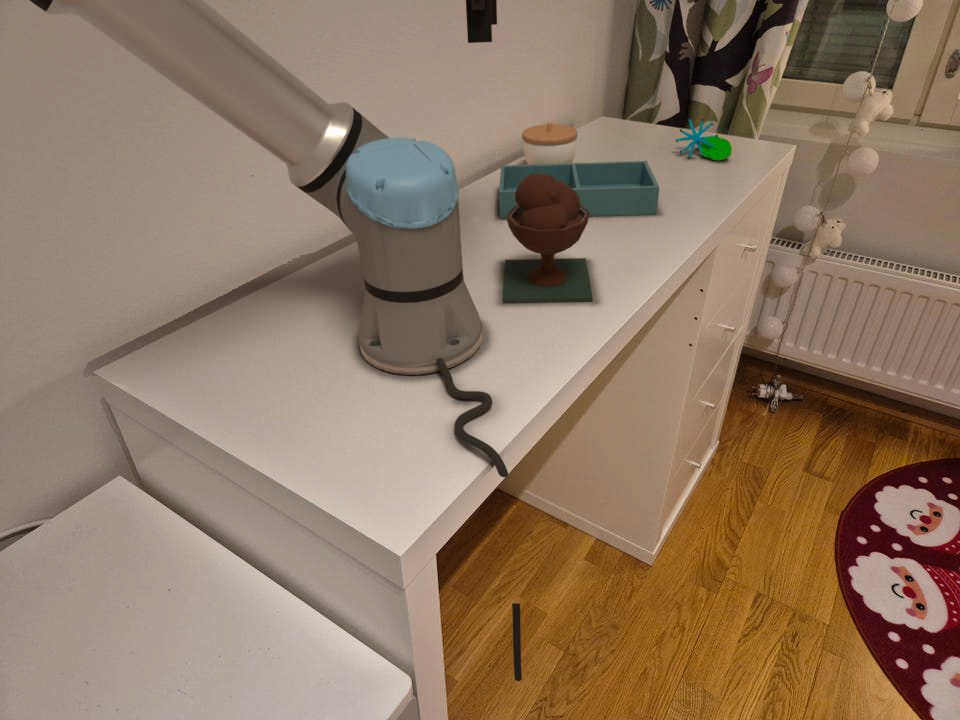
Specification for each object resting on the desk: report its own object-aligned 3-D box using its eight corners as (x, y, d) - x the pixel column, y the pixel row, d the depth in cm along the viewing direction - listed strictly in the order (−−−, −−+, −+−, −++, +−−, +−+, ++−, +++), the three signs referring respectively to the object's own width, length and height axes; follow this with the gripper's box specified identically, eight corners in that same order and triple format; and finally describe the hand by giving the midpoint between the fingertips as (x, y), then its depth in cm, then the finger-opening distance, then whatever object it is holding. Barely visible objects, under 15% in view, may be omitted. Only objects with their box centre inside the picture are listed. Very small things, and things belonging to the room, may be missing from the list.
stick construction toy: (666, 144, 135) (689, 109, 133) (673, 155, 141) (695, 122, 139) (717, 170, 130) (741, 135, 128) (722, 180, 136) (745, 147, 134)
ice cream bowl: (561, 304, 87) (564, 194, 78) (493, 283, 92) (488, 178, 84) (600, 272, 93) (607, 168, 85) (535, 254, 99) (534, 155, 91)
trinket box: (513, 176, 130) (512, 128, 125) (535, 160, 138) (535, 113, 132) (564, 182, 126) (565, 133, 120) (583, 165, 133) (585, 117, 128)
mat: (592, 301, 88) (592, 297, 88) (503, 303, 89) (503, 299, 88) (585, 261, 98) (585, 257, 97) (505, 263, 99) (504, 259, 98)
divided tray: (656, 214, 111) (659, 186, 108) (499, 218, 113) (499, 191, 110) (644, 186, 122) (646, 160, 119) (501, 190, 124) (501, 165, 121)
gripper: (508, -215, 57) (511, 49, 69) (514, -183, 78) (516, 17, 90) (423, -210, 58) (441, 52, 70) (451, -179, 79) (461, 19, 91)
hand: (483, 33), depth 80 cm, fingers open, 13 cm apart
